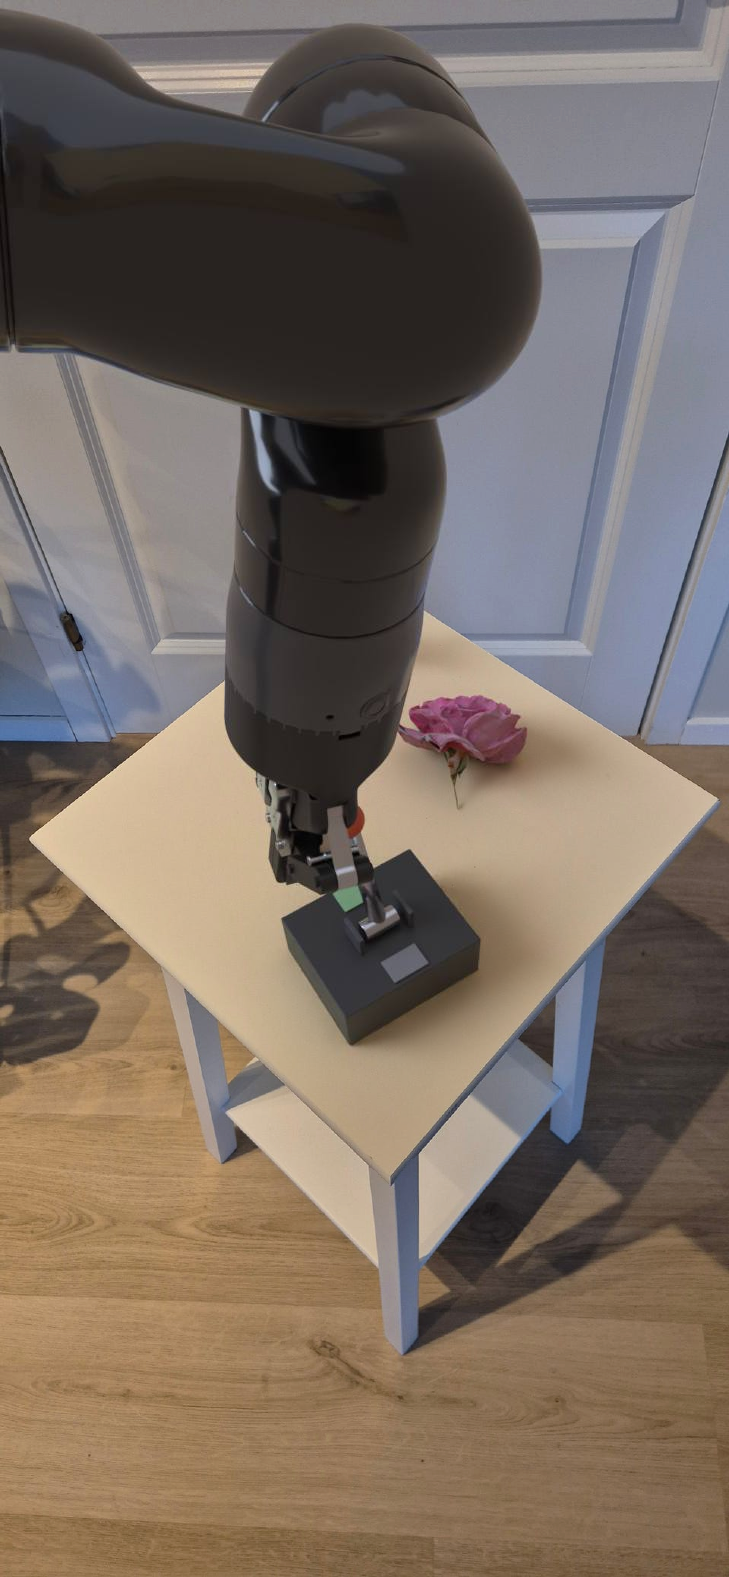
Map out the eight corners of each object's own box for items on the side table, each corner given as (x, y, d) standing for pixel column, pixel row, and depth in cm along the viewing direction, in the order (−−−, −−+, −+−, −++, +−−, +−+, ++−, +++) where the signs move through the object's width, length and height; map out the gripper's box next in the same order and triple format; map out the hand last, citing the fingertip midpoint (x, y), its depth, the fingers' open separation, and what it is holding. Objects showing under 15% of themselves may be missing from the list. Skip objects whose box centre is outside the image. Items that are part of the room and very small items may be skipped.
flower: (422, 741, 99) (468, 655, 95) (498, 801, 95) (551, 713, 91) (355, 755, 90) (403, 660, 85) (437, 822, 86) (491, 726, 81)
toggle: (372, 948, 75) (331, 822, 69) (357, 931, 77) (315, 807, 71) (406, 929, 76) (368, 803, 70) (389, 912, 78) (351, 788, 72)
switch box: (350, 1046, 77) (343, 1006, 71) (287, 948, 82) (277, 904, 76) (478, 969, 80) (482, 926, 74) (410, 880, 85) (409, 834, 80)
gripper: (185, 553, 42) (191, 786, 56) (280, 806, 35) (260, 998, 50) (352, 528, 44) (317, 758, 58) (470, 762, 38) (399, 958, 52)
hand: (291, 868), depth 54 cm, fingers closed
